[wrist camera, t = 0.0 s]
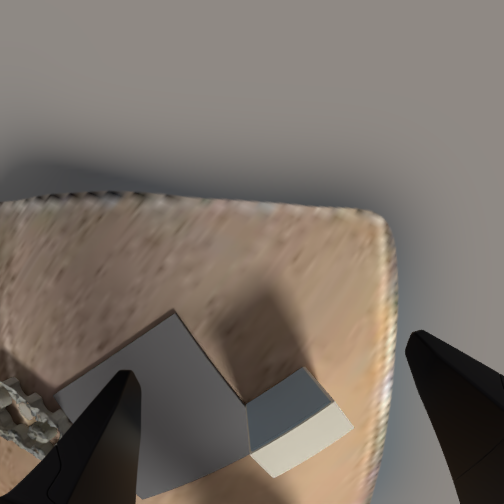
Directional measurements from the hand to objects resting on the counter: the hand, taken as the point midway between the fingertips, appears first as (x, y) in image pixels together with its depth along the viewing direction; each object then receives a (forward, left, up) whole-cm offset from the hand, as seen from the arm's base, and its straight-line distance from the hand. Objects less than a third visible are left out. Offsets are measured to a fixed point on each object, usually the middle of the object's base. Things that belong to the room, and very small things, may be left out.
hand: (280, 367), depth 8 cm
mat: (-3, +13, -15) cm, 20 cm away
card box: (-7, +2, -15) cm, 17 cm away
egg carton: (+3, +26, -15) cm, 30 cm away
